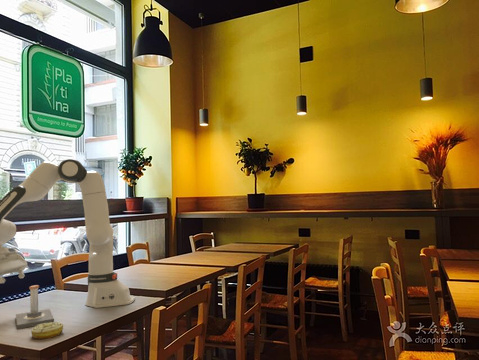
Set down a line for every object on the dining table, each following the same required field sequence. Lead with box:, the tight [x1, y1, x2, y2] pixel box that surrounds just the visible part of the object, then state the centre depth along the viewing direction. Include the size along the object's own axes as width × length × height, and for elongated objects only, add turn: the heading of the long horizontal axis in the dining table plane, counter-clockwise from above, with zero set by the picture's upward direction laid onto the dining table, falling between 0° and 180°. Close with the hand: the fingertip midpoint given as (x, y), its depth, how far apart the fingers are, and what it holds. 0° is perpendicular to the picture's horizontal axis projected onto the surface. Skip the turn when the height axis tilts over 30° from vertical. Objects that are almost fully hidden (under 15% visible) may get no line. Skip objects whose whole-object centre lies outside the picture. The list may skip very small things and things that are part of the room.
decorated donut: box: [30, 321, 64, 340], centre depth 142 cm, size 10×11×4 cm
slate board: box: [15, 308, 55, 330], centre depth 161 cm, size 18×13×2 cm
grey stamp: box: [26, 284, 42, 318], centre depth 161 cm, size 4×4×12 cm
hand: (13, 279), depth 166 cm, fingers open, 8 cm apart
